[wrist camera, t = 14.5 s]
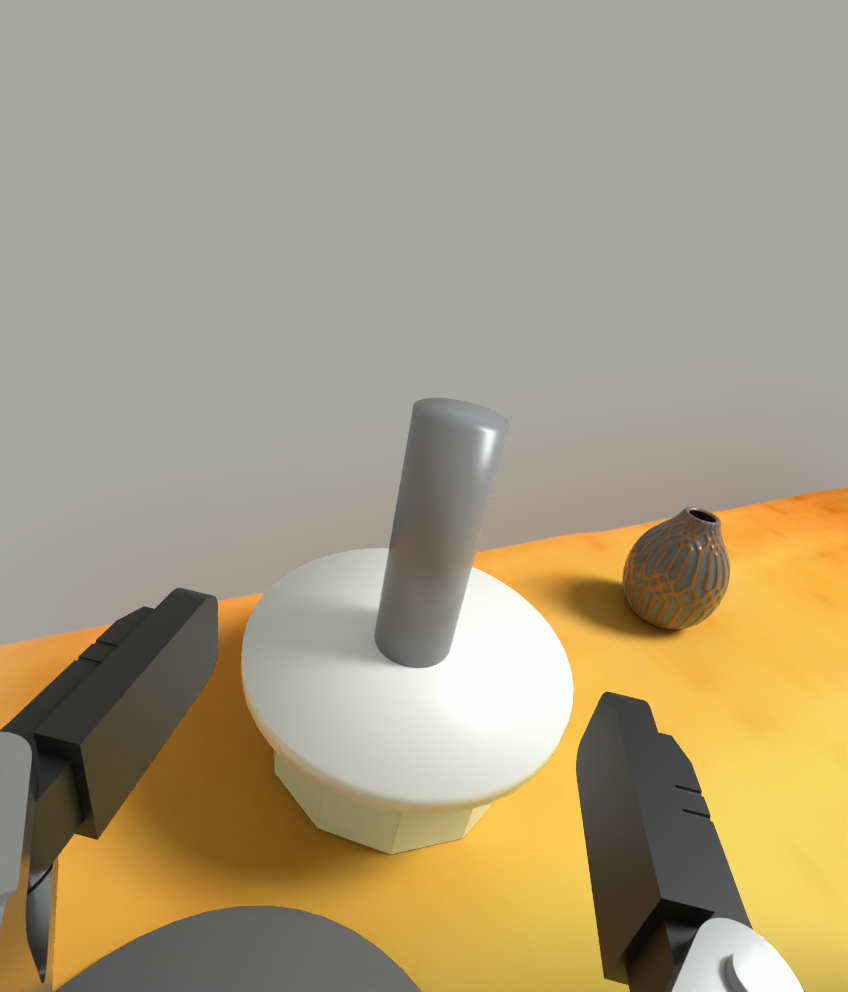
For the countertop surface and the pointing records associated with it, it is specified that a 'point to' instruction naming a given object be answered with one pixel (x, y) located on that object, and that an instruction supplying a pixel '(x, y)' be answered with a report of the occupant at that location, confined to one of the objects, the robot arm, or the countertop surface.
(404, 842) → the bowl
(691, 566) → the vase
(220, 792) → the countertop surface
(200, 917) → the mat
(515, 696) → the lid
